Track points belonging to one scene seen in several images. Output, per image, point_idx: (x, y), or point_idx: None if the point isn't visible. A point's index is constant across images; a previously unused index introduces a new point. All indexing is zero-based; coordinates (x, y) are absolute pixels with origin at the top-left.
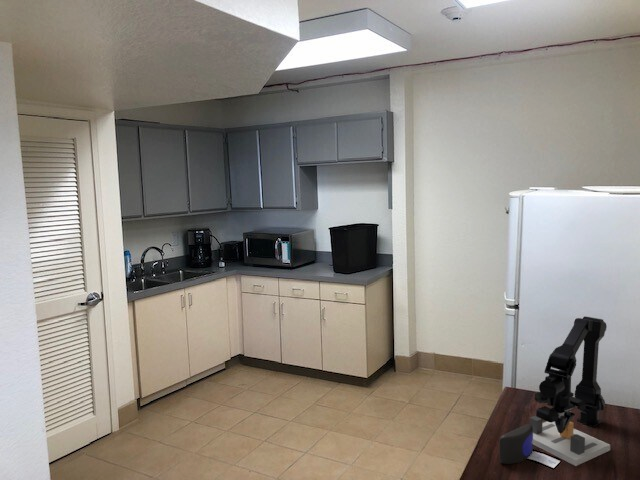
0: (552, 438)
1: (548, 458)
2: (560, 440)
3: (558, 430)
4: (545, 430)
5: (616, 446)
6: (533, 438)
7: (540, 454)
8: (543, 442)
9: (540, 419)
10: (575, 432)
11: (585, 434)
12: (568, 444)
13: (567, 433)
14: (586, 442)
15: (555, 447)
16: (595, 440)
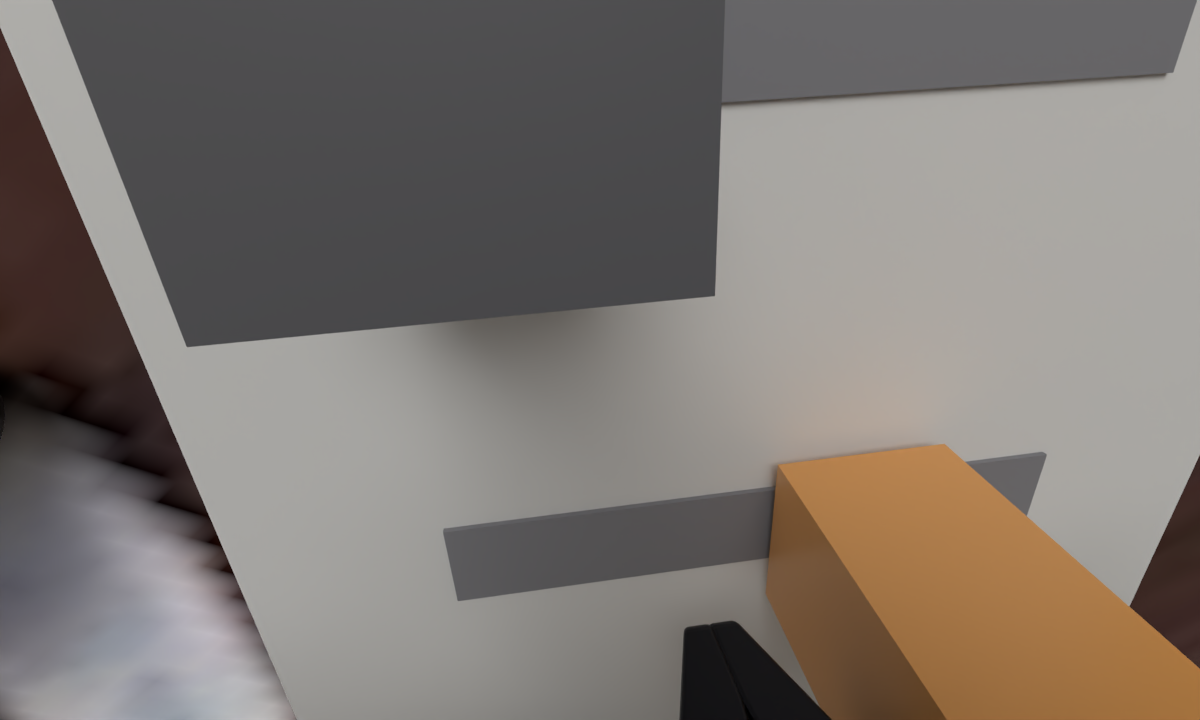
0: (568, 464)
1: (173, 655)
2: (627, 571)
3: (681, 688)
4: (752, 134)
5: None
6: (144, 300)
7: (114, 552)
8: (269, 505)
9: (538, 307)
10: (1103, 466)
11: (1130, 560)
12: (635, 672)
13: (811, 677)
14: None
15: (359, 681)
16: None
